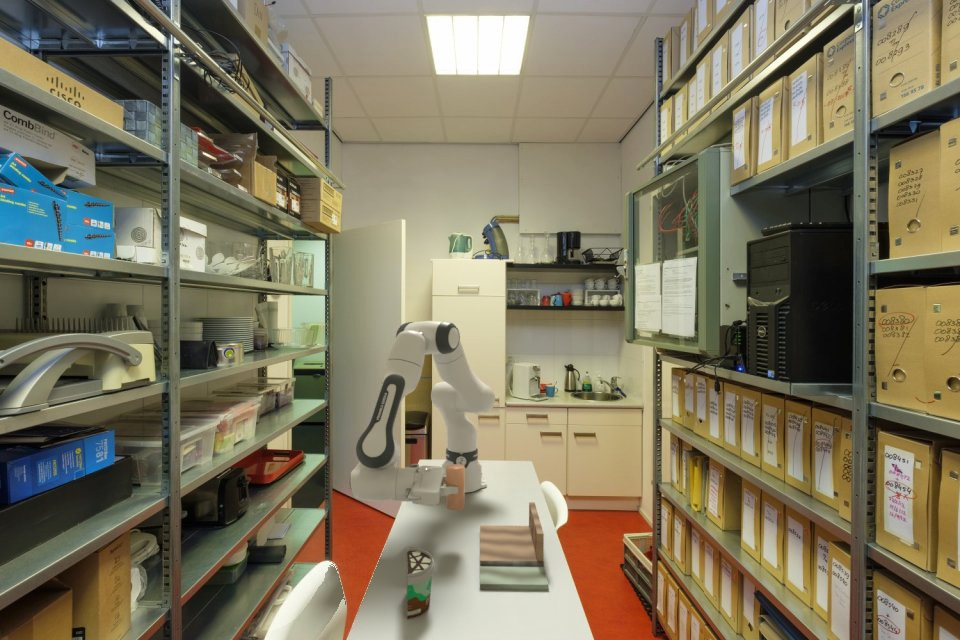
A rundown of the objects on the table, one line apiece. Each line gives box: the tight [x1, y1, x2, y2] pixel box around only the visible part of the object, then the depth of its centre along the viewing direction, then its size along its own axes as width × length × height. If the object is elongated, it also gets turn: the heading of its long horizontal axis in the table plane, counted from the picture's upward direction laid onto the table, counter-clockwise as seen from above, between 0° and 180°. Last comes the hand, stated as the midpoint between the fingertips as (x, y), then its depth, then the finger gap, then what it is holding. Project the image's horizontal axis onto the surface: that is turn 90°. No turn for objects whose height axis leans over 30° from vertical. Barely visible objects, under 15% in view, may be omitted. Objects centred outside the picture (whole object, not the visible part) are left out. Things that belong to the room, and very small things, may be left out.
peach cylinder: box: [445, 464, 466, 511], centre depth 131 cm, size 5×5×11 cm
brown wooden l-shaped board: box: [479, 501, 549, 591], centre depth 124 cm, size 29×16×9 cm, turn 0°
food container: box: [406, 547, 436, 620], centre depth 104 cm, size 12×6×10 cm, turn 9°
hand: (458, 485), depth 131 cm, fingers closed on peach cylinder, 5 cm apart
